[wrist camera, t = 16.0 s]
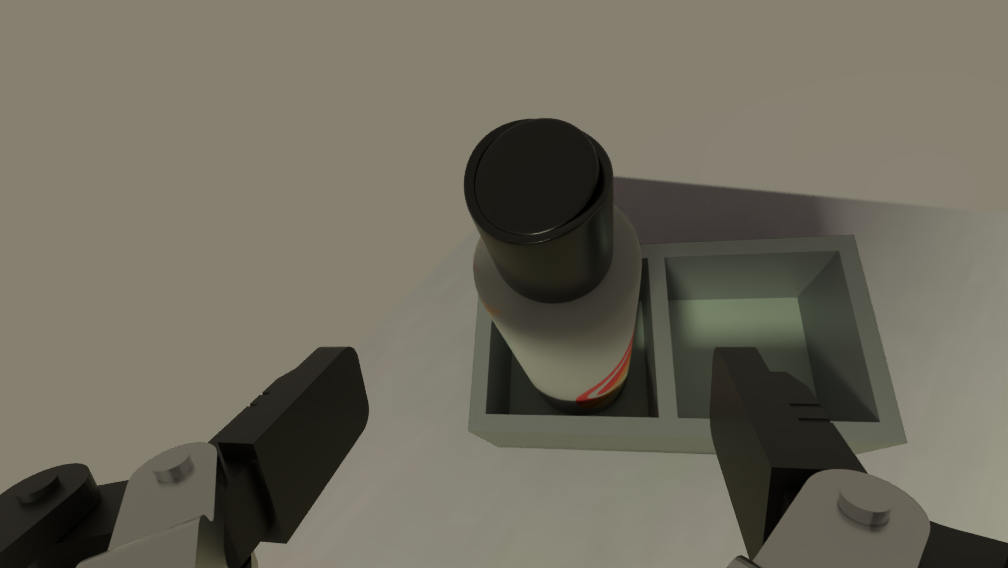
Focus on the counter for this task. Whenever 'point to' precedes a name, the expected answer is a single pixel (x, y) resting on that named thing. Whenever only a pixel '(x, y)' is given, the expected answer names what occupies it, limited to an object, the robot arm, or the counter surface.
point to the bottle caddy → (711, 350)
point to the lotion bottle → (555, 259)
